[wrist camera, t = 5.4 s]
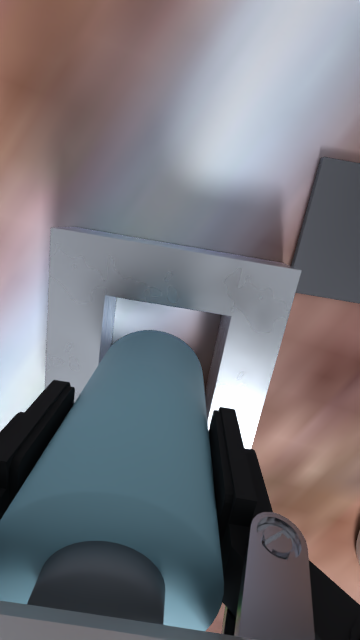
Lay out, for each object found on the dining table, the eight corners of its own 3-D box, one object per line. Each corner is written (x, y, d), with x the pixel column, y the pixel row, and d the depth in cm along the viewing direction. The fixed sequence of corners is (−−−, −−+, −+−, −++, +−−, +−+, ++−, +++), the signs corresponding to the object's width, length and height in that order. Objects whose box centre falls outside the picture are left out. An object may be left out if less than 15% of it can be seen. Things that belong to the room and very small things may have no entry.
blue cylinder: (212, 339, 14) (256, 546, 5) (192, 430, 16) (200, 715, 7) (104, 321, 14) (-47, 501, 5) (95, 414, 16) (-35, 684, 6)
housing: (283, 262, 18) (301, 270, 15) (236, 436, 21) (244, 469, 18) (73, 226, 17) (50, 227, 14) (62, 409, 21) (43, 439, 18)
